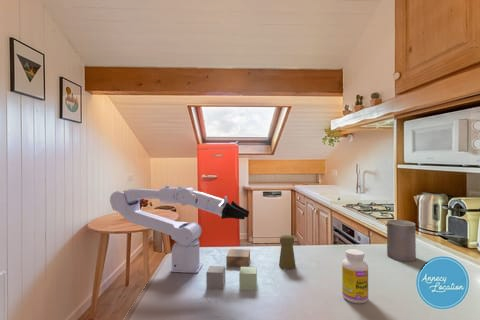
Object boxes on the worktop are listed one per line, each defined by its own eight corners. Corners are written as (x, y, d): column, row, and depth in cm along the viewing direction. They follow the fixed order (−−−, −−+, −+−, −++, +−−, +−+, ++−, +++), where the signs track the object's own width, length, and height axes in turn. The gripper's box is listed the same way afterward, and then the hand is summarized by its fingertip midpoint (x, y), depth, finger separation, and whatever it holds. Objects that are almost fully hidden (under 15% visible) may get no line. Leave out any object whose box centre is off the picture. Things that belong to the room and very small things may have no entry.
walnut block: (226, 267, 99) (226, 256, 99) (229, 259, 107) (229, 249, 107) (248, 267, 98) (248, 256, 98) (250, 259, 106) (249, 249, 106)
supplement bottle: (355, 306, 71) (355, 257, 71) (337, 295, 77) (336, 249, 77) (374, 301, 73) (373, 253, 74) (354, 290, 80) (354, 246, 80)
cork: (295, 269, 95) (295, 238, 95) (278, 268, 96) (278, 237, 96) (295, 263, 101) (295, 233, 101) (279, 262, 102) (279, 233, 102)
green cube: (239, 289, 81) (239, 273, 81) (241, 282, 86) (240, 266, 86) (256, 290, 80) (256, 273, 80) (256, 283, 85) (256, 267, 85)
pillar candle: (384, 252, 112) (384, 216, 112) (411, 254, 110) (410, 216, 110) (390, 260, 103) (390, 221, 103) (420, 263, 100) (419, 222, 100)
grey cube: (206, 288, 82) (206, 272, 82) (210, 281, 87) (209, 265, 87) (222, 289, 81) (222, 272, 81) (225, 282, 86) (225, 266, 86)
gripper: (207, 192, 89) (246, 205, 86) (218, 192, 103) (252, 203, 100) (201, 213, 88) (240, 226, 86) (213, 210, 103) (247, 221, 100)
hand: (246, 215), depth 93 cm, fingers open, 7 cm apart
